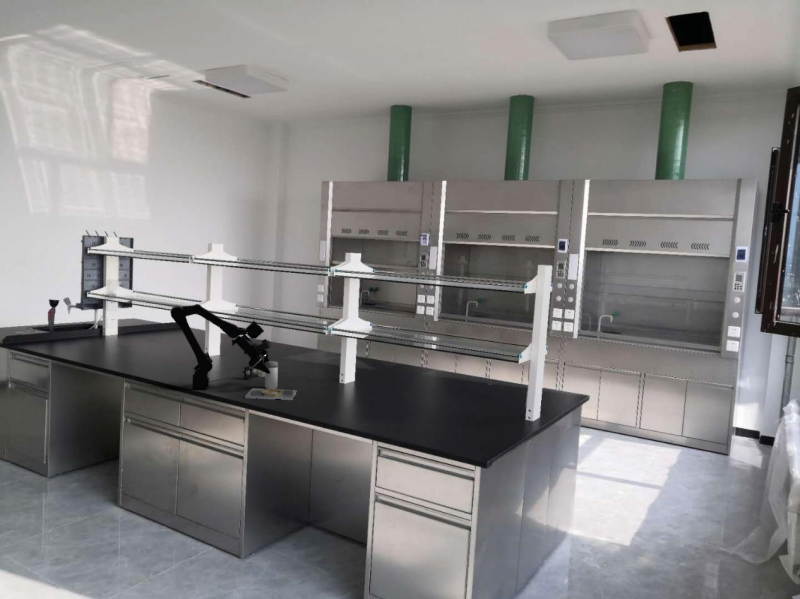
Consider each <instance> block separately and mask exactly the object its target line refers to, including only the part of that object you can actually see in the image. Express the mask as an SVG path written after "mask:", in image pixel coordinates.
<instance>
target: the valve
mask: <svg viewBox="0 0 800 599" xmlns="http://www.w3.org/2000/svg"><path fill="white" fill-rule="evenodd" d="M243 369H244V370H242V374H244V375H243V378H246V380H250V379H253V376H252V375H254V374H256V375H257V376H259V378H265V372H263V371H260V370H258V369H255V368H253V367H252V368H251V367H250V366H249V365H247V366H244V367H243Z"/></svg>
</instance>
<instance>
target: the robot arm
mask: <svg viewBox="0 0 800 599" xmlns="http://www.w3.org/2000/svg"><path fill="white" fill-rule="evenodd" d="M193 315H198V316H200V317H202V318H203V319H205V320H207V321H208V322H210V323H211V324H213V325H215V326H217V327H218V328H219V329H220V330H221V331H222V332H223V333H224V334H226V335H227V336H228V337H229V338H231V346H236V345H237V346H238V347H239V349H241V351H243V354H244V355H247V356H248V357H249V361H248V366H250V367H249V368H252V369H258V370H260V371H263V372H265V373H268V374H269V373H270V371H269V369H268V368H267V366H266V362H267V361H271V360H270V358H269V355H270V353H269V350H268V349H270V348H272V344H271V341H270V340H269V339H268V340H267V338H265V339H263V340H261V342H260V343H257V342H253V341H252V340H256V339H257V338H258V337H260V336H261V335H262V333H264V332H265V329H264V328H263V327H262V326H260V324H258V323H257V322H256V321H255V320H253V321H251V322H250V324H249V325H248V326H246V327H240V326H238V325H237V324H234V323H232V322H230V321H227V320H224V319H222V318H220V317H219V316H217V315H216V314H215V313H213V312H211V311H209V310H208V309H206V308H205V307H203V306H202V305H201V304H199V303H196V304H192V305H191V304H190V305H184V306H180V305H174V306H173V307H171V309H170V316H171V319H172V320H173V321H174V322H175V323H176V325H177V326H178V327H179V328H180V330H181V331H182V333H183V335H184V337H185V339H186V340H187V342H188V344H189V345H190V348H191V350H192V352H193V353H194V355H195V359H196V363H197V364H196V365H195V367H193V368H192V369H193V370H192V371H193V374H192V387H191V390H197V391H198V390H200V391H202V390H208V388H210V376H209V372H211V371H212V369H213V367H214V365H213V363H214V362H213V359H212V358H211V356H210V353H209V352H208V351H207V352H204V350H203V348H202V347H201V345H200V342H199V341H198V339H197V338H196V336H195V334H194V332H193V330H192V328H191V327H190V324H189V322H188V319H187V317H189V316H193Z"/></svg>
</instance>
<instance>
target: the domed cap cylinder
mask: <svg viewBox="0 0 800 599" xmlns="http://www.w3.org/2000/svg"><path fill="white" fill-rule="evenodd" d="M266 366H267V368H268V369H269V371H270V373H269V374H268V373H265V377H264V389H265V388H266V389H276V388H277V389H278V378H279V375H278V374H279V373H278V372H279V362H278V361H274V360H270V361H267V362H266Z"/></svg>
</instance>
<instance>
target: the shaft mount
mask: <svg viewBox="0 0 800 599" xmlns="http://www.w3.org/2000/svg"><path fill="white" fill-rule="evenodd" d="M296 392H297V393H298V390H295V389H279V388H277V389H265V388H257V387H256V388H255V387H254V388H251V389H250V390H249V391H248V392H247V393H246V394H245V396H244V399H254V400H255V399H256V398H257V400H258V399H260V400H275V399H281V401H293V399H294V398H293V397H295V396H296V394H297V393H296Z"/></svg>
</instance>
